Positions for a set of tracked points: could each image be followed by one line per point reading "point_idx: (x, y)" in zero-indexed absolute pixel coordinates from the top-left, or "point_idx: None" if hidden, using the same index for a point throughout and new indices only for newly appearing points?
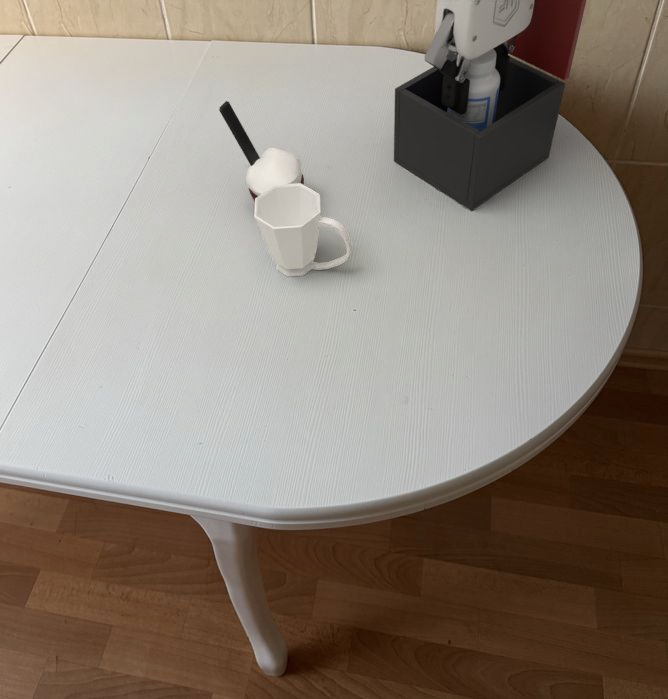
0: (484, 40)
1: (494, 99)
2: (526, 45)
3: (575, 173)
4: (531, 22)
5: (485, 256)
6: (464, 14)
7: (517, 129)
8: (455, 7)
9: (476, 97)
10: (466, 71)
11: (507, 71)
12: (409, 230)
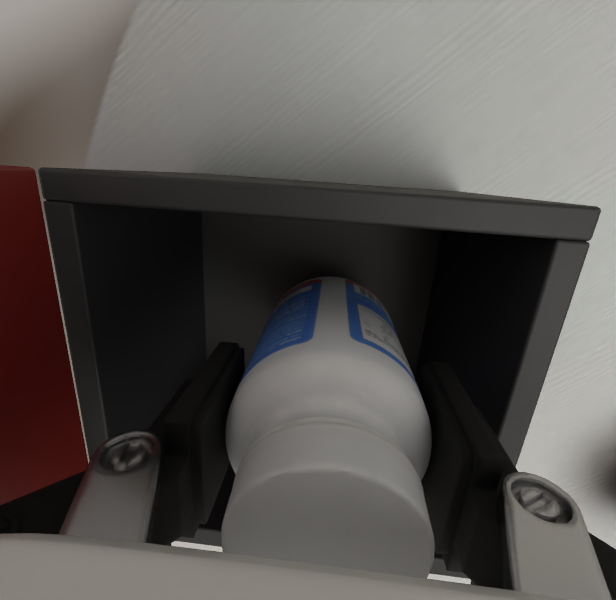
0: None
1: (321, 325)
2: (18, 414)
3: (190, 84)
4: None
5: (587, 58)
6: None
7: (337, 186)
8: None
9: (407, 373)
10: (524, 517)
11: (197, 375)
12: (592, 257)
